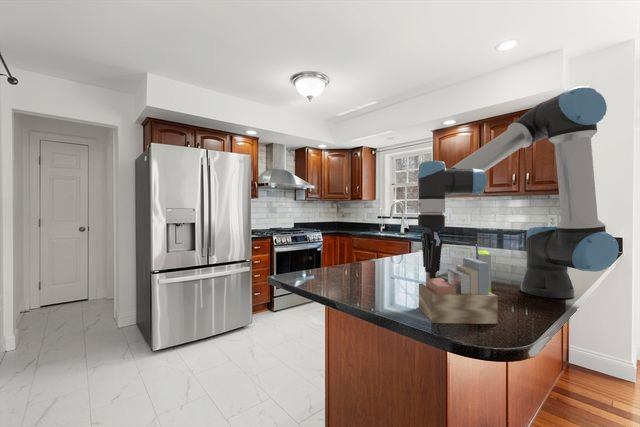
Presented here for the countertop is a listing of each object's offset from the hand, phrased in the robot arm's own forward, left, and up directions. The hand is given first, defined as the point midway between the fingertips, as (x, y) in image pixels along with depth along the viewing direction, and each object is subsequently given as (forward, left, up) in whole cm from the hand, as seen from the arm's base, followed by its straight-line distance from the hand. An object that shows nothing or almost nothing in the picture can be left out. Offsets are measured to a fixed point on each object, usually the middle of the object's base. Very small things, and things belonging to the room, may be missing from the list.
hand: (431, 293), depth 94 cm
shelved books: (-8, +8, -4) cm, 12 cm away
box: (-19, -9, -4) cm, 21 cm away
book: (0, +7, -4) cm, 8 cm away
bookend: (-5, +8, -4) cm, 10 cm away
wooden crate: (-4, +8, -4) cm, 10 cm away
